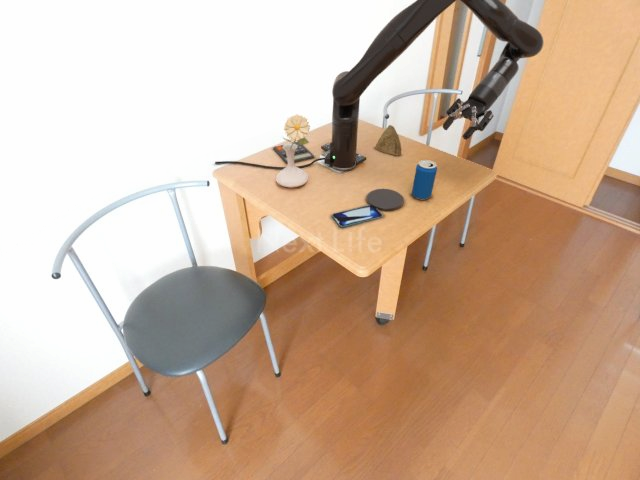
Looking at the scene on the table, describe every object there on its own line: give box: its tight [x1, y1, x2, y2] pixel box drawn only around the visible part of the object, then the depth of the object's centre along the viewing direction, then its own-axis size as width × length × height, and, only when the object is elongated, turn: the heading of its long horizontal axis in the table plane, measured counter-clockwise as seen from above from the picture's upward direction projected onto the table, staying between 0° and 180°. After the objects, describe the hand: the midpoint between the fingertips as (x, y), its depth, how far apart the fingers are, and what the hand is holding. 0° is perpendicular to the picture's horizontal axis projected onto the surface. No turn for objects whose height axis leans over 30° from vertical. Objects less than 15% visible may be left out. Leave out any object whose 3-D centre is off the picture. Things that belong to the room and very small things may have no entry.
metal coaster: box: [366, 188, 404, 212], centre depth 123 cm, size 12×12×1 cm
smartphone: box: [331, 204, 384, 229], centre depth 116 cm, size 7×1×15 cm
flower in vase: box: [275, 114, 311, 189], centre depth 124 cm, size 13×11×25 cm
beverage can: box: [411, 159, 438, 201], centre depth 122 cm, size 6×6×12 cm
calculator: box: [273, 141, 315, 165], centre depth 150 cm, size 12×1×15 cm
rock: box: [374, 124, 402, 157], centre depth 149 cm, size 11×9×10 cm
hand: (454, 133), depth 119 cm, fingers open, 8 cm apart
